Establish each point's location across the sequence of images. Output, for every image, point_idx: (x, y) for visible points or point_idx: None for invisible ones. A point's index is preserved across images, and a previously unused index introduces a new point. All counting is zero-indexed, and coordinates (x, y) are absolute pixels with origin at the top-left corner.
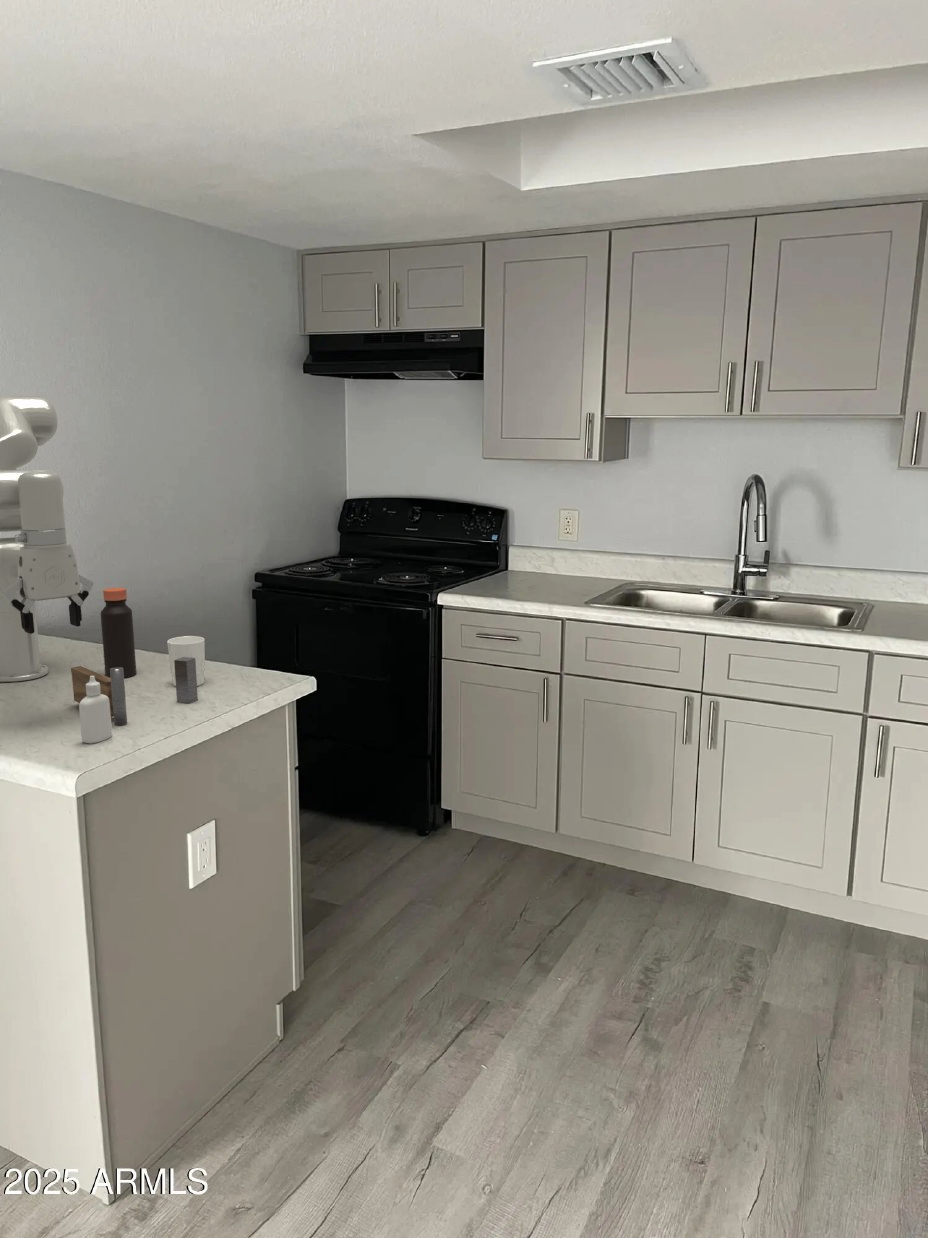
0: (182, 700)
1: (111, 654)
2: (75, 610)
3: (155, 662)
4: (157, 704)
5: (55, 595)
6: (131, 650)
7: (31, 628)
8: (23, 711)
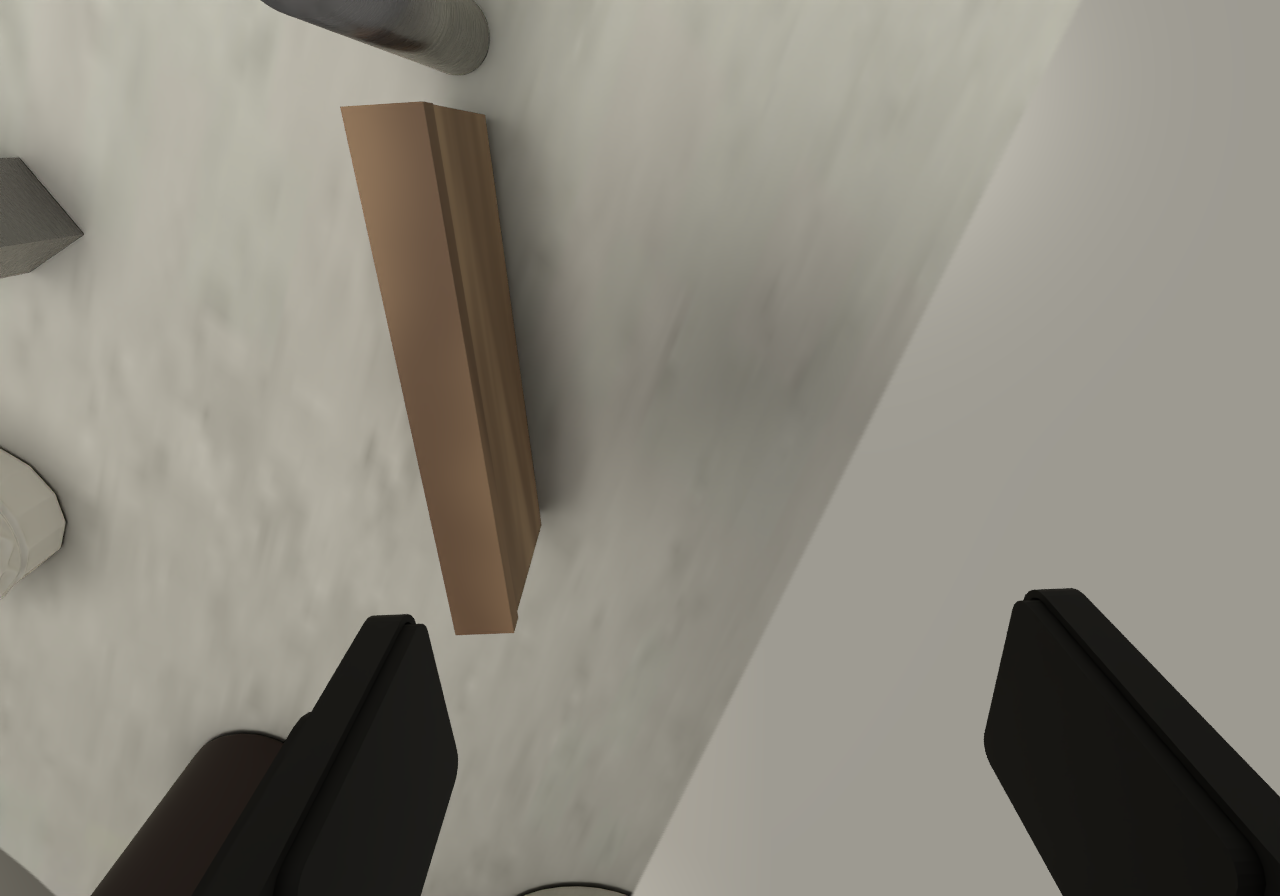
0: (42, 200)
1: None
2: (322, 826)
3: (100, 842)
4: (191, 269)
5: None
6: (136, 843)
7: (1103, 627)
8: (742, 567)
